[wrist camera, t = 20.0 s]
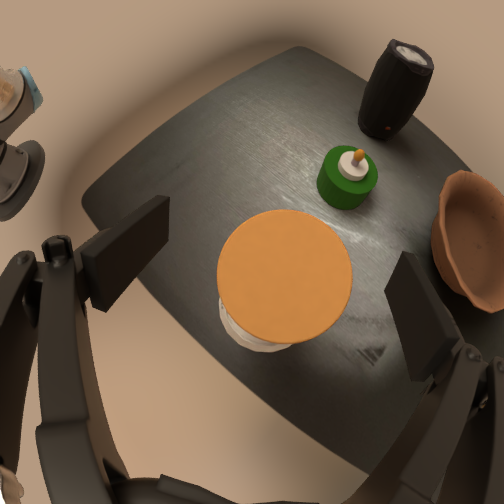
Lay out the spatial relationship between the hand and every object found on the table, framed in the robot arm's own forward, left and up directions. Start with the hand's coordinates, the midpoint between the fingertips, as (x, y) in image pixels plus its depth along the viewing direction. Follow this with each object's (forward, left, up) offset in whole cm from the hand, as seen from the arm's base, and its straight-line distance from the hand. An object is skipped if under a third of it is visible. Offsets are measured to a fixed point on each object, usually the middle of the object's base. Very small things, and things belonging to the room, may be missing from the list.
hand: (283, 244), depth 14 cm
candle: (+13, +17, -24) cm, 32 cm away
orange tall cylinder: (0, -2, -8) cm, 9 cm away
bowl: (+33, +5, -24) cm, 41 cm away
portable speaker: (+23, +31, -24) cm, 45 cm away
